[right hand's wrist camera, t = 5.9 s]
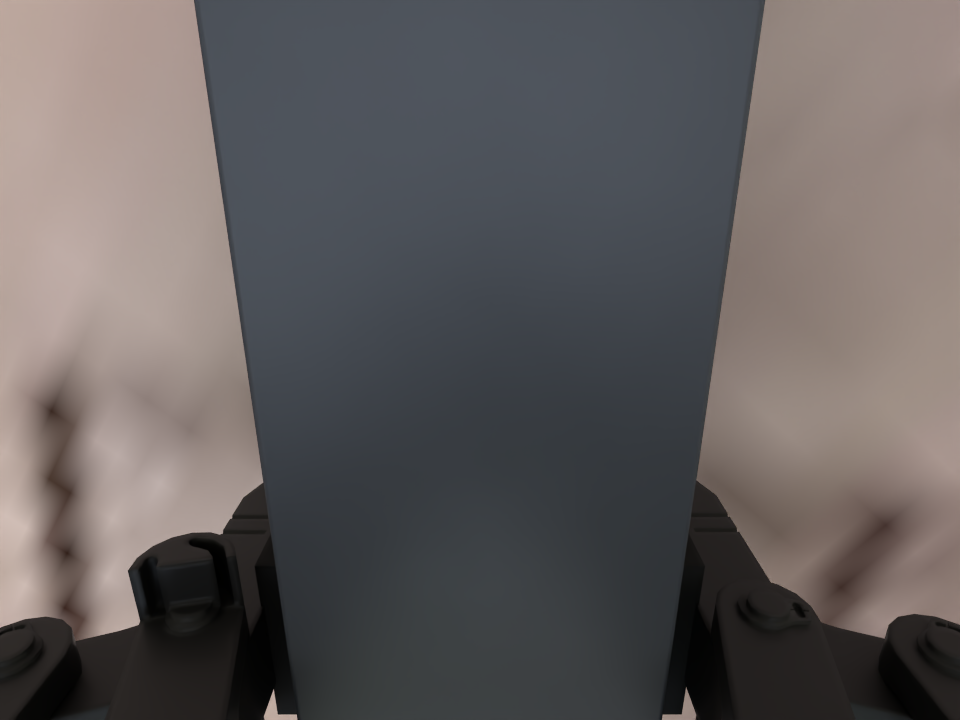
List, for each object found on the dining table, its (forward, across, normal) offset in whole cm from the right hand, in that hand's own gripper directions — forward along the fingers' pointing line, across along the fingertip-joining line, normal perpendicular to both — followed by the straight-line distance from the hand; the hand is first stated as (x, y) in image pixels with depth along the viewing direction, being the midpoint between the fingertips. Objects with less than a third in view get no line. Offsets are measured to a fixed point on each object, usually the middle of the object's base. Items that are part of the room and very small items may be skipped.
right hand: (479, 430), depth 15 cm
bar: (+1, 0, -20) cm, 20 cm away
